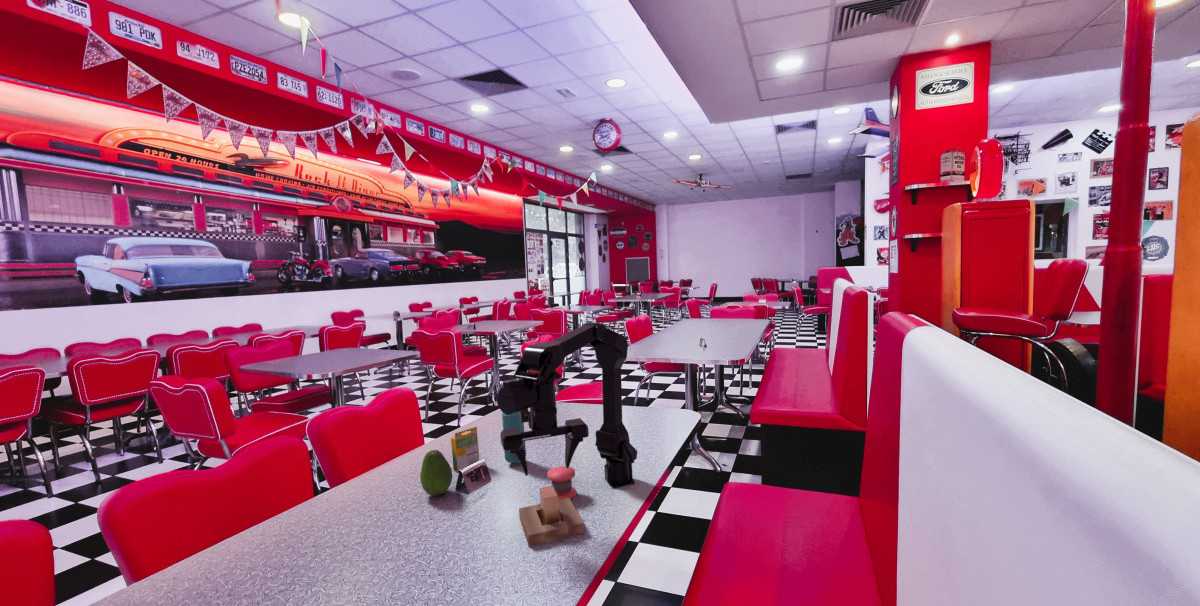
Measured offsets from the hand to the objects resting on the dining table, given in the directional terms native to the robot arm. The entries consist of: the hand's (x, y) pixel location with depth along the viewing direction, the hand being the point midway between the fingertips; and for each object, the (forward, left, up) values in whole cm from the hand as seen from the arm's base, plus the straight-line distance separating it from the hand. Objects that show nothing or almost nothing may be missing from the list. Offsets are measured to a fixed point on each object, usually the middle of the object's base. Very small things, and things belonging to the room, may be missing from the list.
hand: (546, 471), depth 105 cm
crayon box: (+16, -42, -13) cm, 47 cm away
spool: (-6, -13, -13) cm, 19 cm away
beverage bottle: (+2, -38, -13) cm, 40 cm away
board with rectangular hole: (0, 0, -13) cm, 13 cm away
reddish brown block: (0, 0, -13) cm, 13 cm away
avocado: (+24, -27, -13) cm, 38 cm away
